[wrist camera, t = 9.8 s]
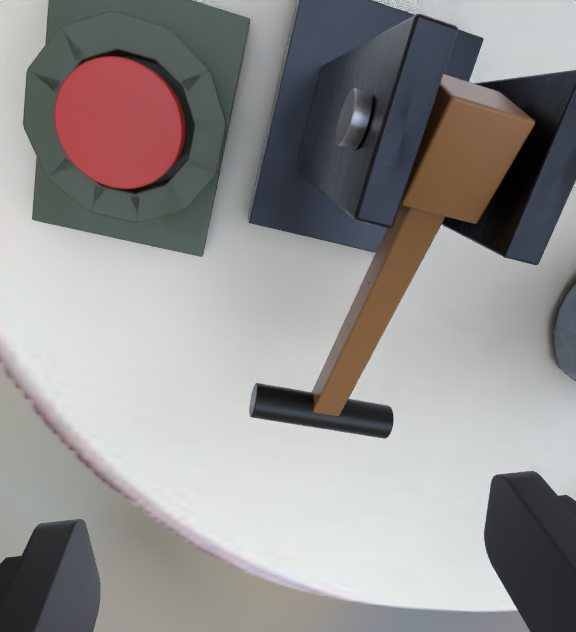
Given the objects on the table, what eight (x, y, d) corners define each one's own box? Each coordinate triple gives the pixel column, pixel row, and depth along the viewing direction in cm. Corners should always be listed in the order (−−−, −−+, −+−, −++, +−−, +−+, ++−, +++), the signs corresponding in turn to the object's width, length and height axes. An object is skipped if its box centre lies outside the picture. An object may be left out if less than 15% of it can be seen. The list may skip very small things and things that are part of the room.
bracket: (399, 253, 26) (542, 372, 14) (247, 218, 24) (264, 316, 12) (471, 42, 22) (744, -41, 10) (300, -15, 21) (393, -189, 9)
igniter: (64, -33, 20) (31, -63, 16) (249, 25, 21) (252, 8, 18) (43, 213, 23) (13, 229, 20) (204, 249, 24) (199, 269, 21)
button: (75, 45, 18) (59, 39, 16) (195, 80, 19) (192, 77, 17) (63, 167, 20) (48, 172, 18) (175, 194, 20) (171, 201, 19)
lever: (375, 409, 22) (385, 456, 20) (250, 388, 20) (247, 435, 19) (555, 109, 14) (600, 140, 12) (365, 48, 13) (381, 73, 11)
